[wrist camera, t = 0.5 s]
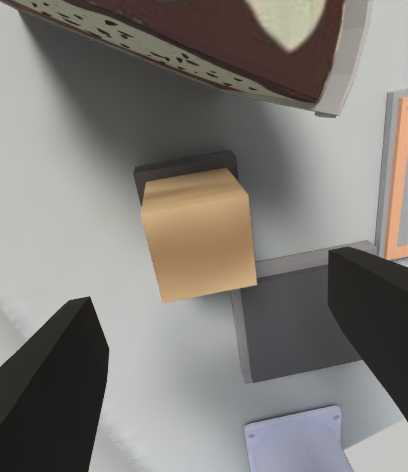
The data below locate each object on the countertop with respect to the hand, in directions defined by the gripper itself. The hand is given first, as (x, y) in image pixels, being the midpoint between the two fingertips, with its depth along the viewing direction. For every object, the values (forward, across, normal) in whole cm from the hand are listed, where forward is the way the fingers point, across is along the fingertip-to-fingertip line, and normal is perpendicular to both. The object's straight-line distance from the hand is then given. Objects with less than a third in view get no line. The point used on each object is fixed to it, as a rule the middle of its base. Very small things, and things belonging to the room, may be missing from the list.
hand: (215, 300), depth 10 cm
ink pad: (+9, -6, +9) cm, 14 cm away
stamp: (+9, 0, 0) cm, 9 cm away
